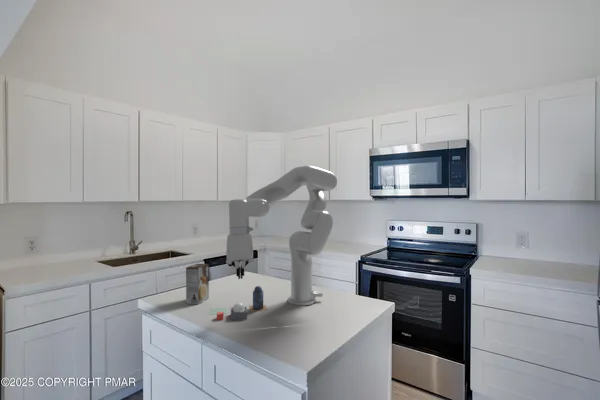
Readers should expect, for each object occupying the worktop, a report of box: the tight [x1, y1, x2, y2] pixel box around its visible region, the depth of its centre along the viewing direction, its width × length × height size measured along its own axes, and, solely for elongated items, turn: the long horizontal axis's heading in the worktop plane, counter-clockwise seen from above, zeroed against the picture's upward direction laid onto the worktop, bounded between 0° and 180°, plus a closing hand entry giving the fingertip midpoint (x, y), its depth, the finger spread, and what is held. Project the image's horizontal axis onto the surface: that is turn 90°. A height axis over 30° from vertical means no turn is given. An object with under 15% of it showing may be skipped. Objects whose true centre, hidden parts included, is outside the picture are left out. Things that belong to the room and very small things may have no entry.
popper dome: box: [232, 301, 245, 313], centre depth 118 cm, size 4×4×5 cm
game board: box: [208, 304, 268, 321], centre depth 122 cm, size 23×14×3 cm, turn 102°
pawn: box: [252, 285, 264, 310], centre depth 127 cm, size 4×4×9 cm
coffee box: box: [185, 263, 210, 305], centre depth 138 cm, size 9×6×16 cm
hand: (240, 277), depth 118 cm, fingers closed
